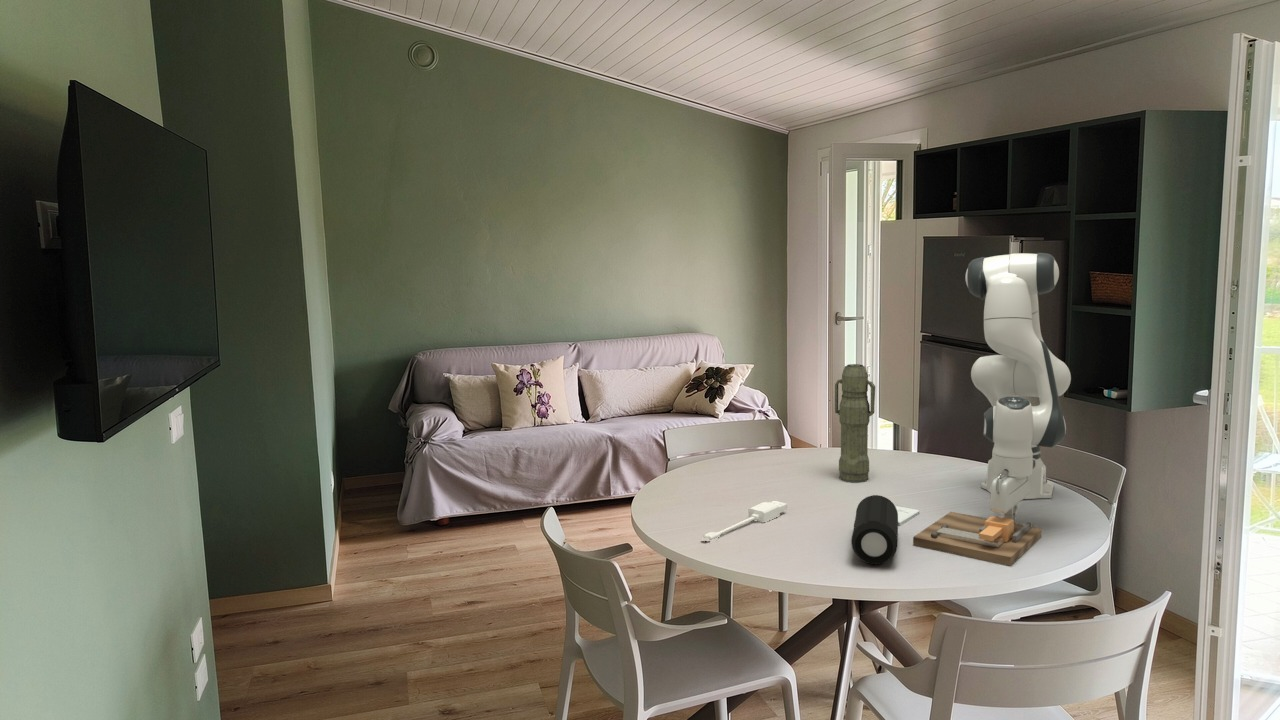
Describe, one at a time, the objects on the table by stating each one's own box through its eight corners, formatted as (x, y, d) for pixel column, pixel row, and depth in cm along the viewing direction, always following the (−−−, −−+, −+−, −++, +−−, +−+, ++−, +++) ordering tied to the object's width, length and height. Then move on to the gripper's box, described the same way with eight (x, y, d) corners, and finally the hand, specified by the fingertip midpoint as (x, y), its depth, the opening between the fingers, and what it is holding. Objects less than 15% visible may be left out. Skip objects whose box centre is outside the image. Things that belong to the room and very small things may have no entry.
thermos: (872, 484, 249) (873, 367, 244) (832, 481, 253) (833, 366, 249) (875, 476, 257) (877, 363, 253) (836, 473, 261) (837, 362, 257)
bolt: (991, 532, 199) (991, 515, 198) (1013, 536, 196) (1014, 519, 195) (974, 546, 190) (974, 529, 189) (996, 550, 187) (997, 533, 186)
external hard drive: (869, 522, 217) (889, 510, 226) (899, 528, 211) (919, 515, 221) (869, 516, 216) (890, 504, 226) (900, 522, 211) (919, 509, 220)
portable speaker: (856, 529, 210) (856, 490, 208) (897, 532, 207) (898, 493, 205) (850, 566, 185) (850, 523, 184) (897, 570, 183) (897, 526, 181)
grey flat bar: (942, 531, 201) (942, 527, 201) (1003, 542, 192) (1003, 538, 192) (936, 535, 198) (936, 531, 198) (997, 547, 189) (997, 543, 188)
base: (950, 519, 216) (950, 505, 215) (1041, 536, 201) (1042, 521, 201) (913, 545, 197) (913, 530, 197) (1010, 566, 183) (1011, 550, 183)
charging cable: (695, 545, 204) (694, 532, 204) (773, 509, 227) (772, 497, 226) (711, 550, 201) (710, 536, 200) (788, 512, 223) (788, 500, 223)
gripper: (1012, 477, 190) (1010, 536, 192) (1038, 458, 205) (1036, 512, 207) (983, 473, 194) (981, 530, 196) (1011, 454, 209) (1009, 508, 211)
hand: (1010, 521), depth 202 cm, fingers closed
